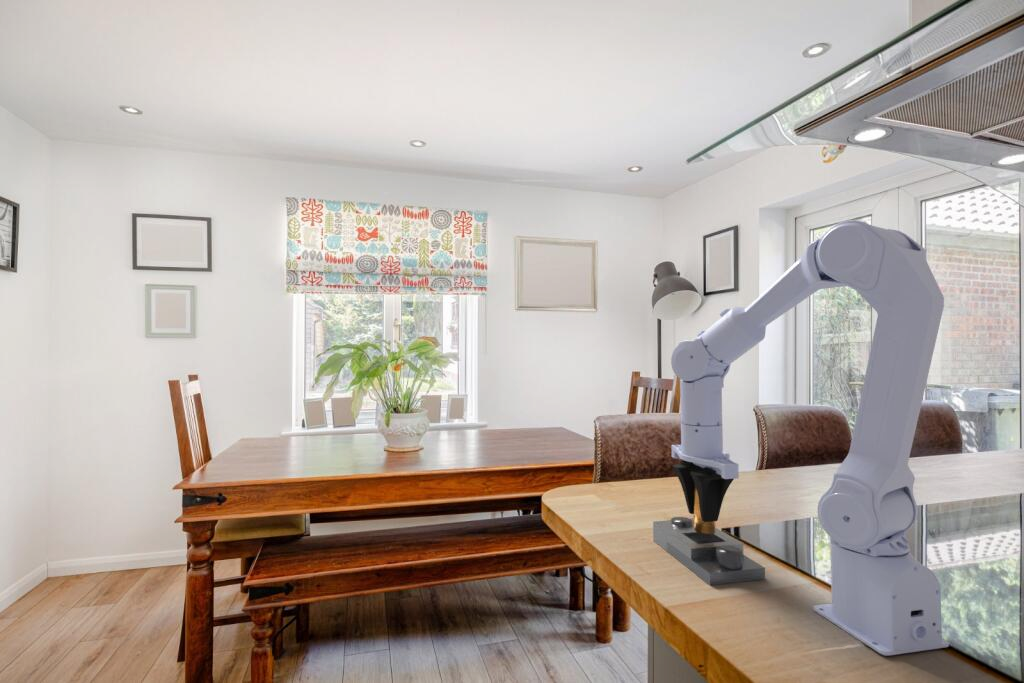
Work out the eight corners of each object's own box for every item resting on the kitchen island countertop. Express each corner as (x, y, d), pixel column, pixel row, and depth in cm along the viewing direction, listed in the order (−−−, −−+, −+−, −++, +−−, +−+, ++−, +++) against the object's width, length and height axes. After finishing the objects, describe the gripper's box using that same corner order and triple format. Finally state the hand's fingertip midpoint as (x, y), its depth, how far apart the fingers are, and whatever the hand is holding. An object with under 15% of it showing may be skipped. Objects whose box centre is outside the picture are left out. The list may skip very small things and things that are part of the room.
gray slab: (765, 579, 68) (764, 552, 68) (709, 585, 66) (709, 557, 66) (699, 536, 83) (698, 514, 84) (653, 540, 82) (652, 518, 82)
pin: (719, 533, 74) (720, 484, 74) (700, 534, 73) (701, 484, 73) (707, 526, 77) (709, 479, 77) (689, 527, 76) (690, 479, 76)
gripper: (758, 429, 69) (760, 531, 69) (699, 416, 83) (700, 500, 83) (710, 432, 67) (712, 536, 67) (658, 417, 82) (660, 503, 82)
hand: (703, 516), depth 75 cm, fingers closed on pin, 3 cm apart
